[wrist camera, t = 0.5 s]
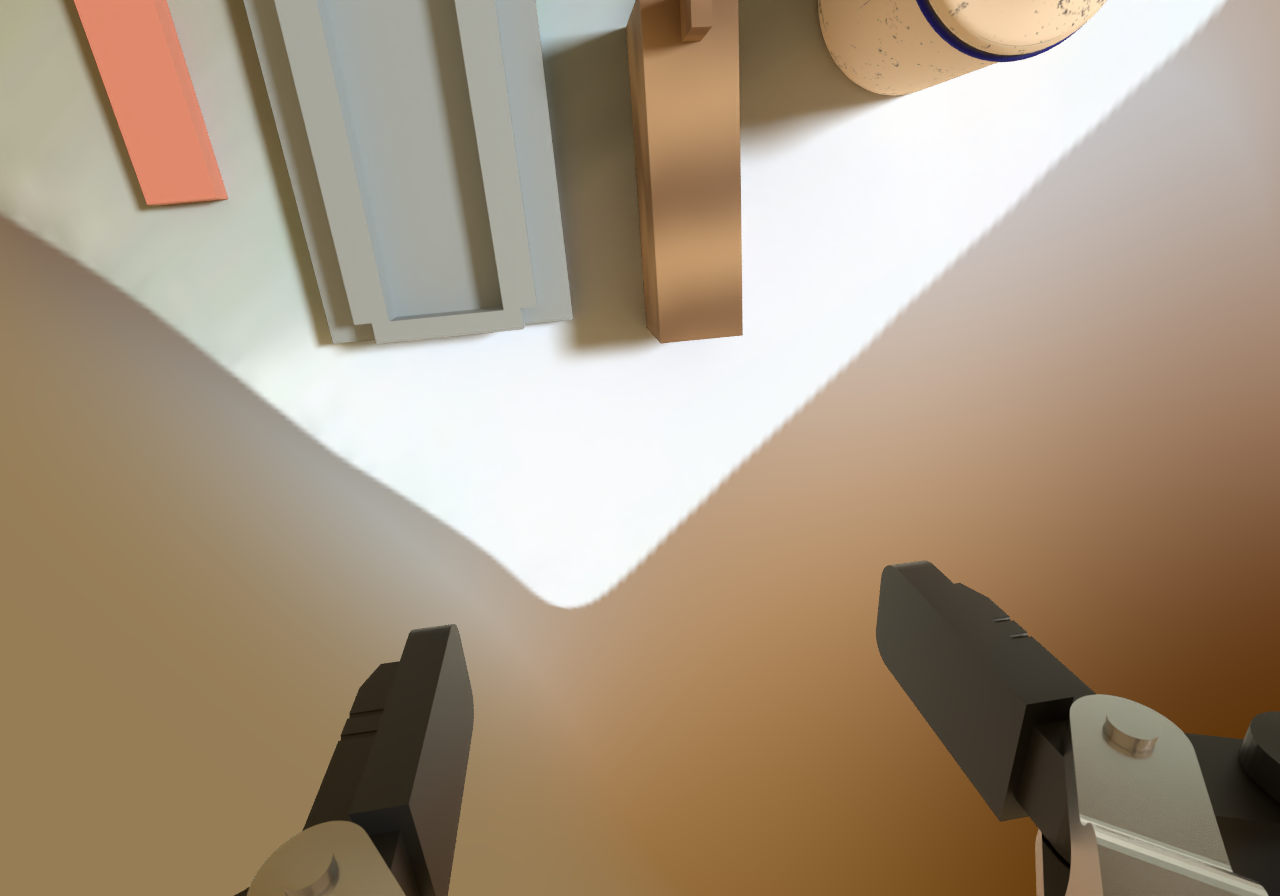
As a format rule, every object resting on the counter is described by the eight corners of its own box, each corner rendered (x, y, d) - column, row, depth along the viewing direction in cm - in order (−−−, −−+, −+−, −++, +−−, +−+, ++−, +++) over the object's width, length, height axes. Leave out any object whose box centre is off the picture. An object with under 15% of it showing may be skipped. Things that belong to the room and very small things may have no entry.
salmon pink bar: (77, -53, 25) (49, -69, 24) (153, -57, 26) (130, -74, 24) (167, 205, 29) (147, 204, 27) (233, 199, 29) (216, 198, 28)
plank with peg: (625, 28, 29) (646, -29, 22) (708, 24, 29) (753, -34, 23) (646, 326, 34) (668, 351, 27) (716, 319, 34) (755, 342, 27)
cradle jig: (229, -95, 25) (193, -130, 23) (522, -105, 26) (519, -140, 24) (341, 339, 31) (322, 349, 29) (572, 316, 33) (574, 323, 30)
